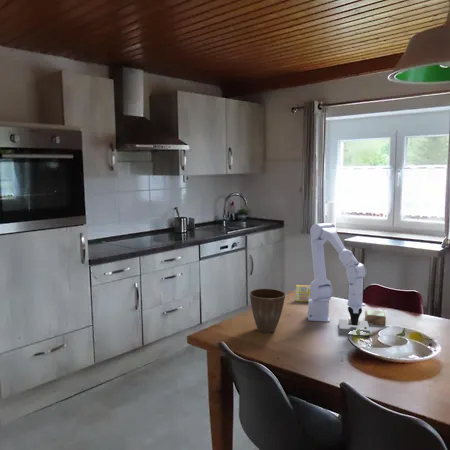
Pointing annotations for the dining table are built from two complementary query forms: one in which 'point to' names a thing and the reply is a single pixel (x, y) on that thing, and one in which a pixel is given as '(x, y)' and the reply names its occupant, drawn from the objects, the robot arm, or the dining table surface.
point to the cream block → (350, 320)
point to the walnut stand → (375, 317)
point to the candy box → (302, 293)
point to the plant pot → (267, 308)
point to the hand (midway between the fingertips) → (354, 324)
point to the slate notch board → (352, 326)
